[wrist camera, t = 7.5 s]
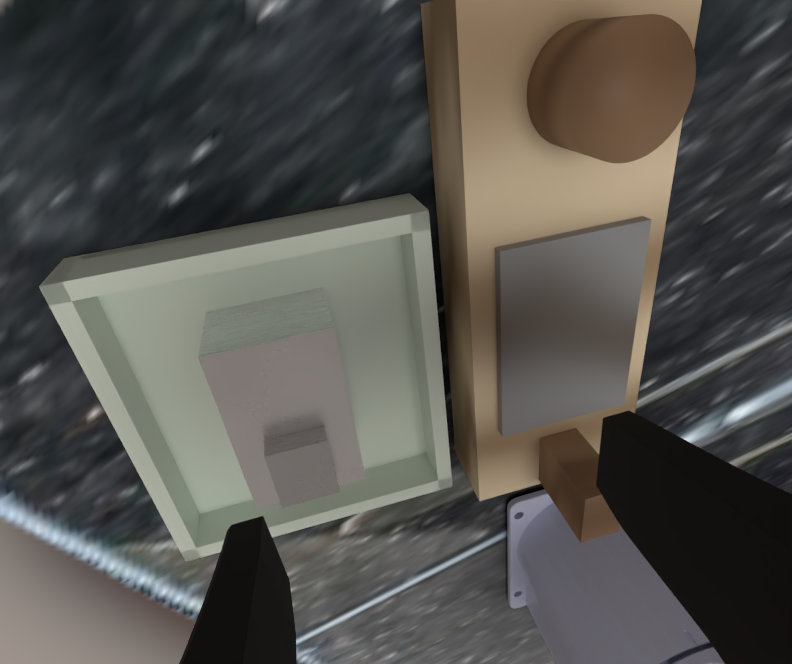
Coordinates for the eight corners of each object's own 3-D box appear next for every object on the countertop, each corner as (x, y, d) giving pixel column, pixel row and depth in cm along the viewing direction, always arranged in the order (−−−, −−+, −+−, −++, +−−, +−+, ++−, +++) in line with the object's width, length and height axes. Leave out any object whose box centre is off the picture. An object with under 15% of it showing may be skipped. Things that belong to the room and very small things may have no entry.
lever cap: (352, 426, 21) (370, 495, 18) (256, 451, 20) (256, 527, 17) (322, 286, 18) (338, 340, 15) (206, 311, 17) (195, 373, 14)
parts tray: (436, 451, 24) (452, 486, 22) (191, 518, 22) (185, 561, 20) (409, 192, 17) (428, 210, 16) (63, 258, 16) (38, 286, 14)
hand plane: (589, 416, 25) (680, 516, 20) (455, 453, 24) (513, 569, 19) (634, -25, 16) (829, -61, 10) (420, 3, 15) (515, -22, 9)
